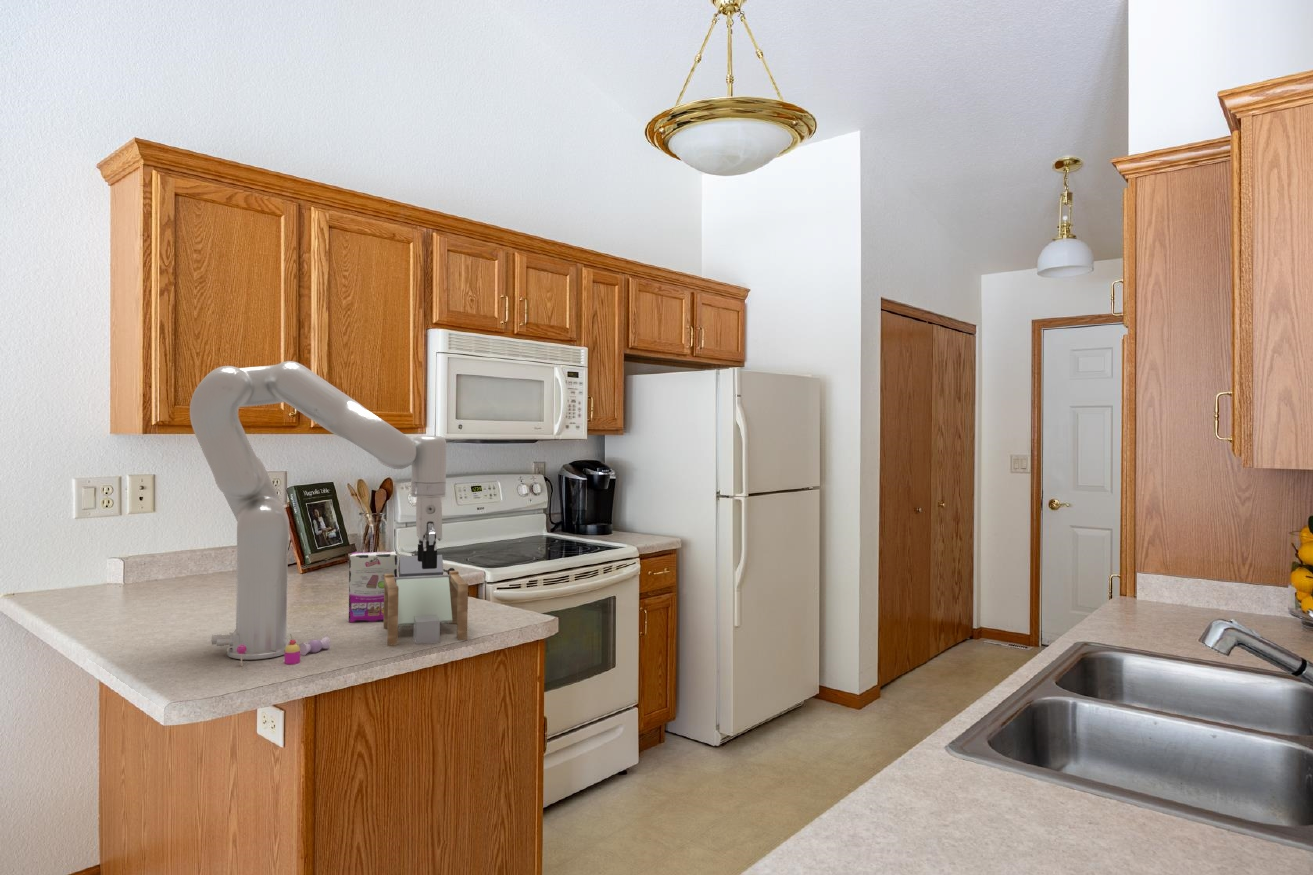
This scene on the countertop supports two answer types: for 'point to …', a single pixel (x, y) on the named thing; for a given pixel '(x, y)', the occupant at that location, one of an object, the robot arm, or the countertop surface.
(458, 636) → the frame
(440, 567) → the trapdoor
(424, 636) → the light gray block
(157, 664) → the countertop surface
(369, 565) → the candy bar box
